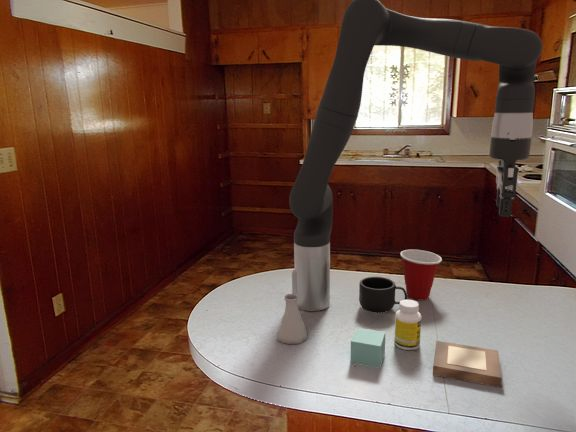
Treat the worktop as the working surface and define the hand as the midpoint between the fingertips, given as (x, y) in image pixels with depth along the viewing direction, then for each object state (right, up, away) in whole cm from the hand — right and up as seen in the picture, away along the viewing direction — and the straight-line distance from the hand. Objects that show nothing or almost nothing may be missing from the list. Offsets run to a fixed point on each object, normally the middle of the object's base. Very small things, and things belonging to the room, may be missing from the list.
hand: (503, 211), depth 96 cm
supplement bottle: (-20, -29, +2) cm, 36 cm away
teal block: (-30, -31, -3) cm, 43 cm away
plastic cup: (-10, -23, +26) cm, 37 cm away
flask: (-45, -29, +6) cm, 54 cm away
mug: (-22, -25, +19) cm, 38 cm away
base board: (-11, -31, -7) cm, 33 cm away
